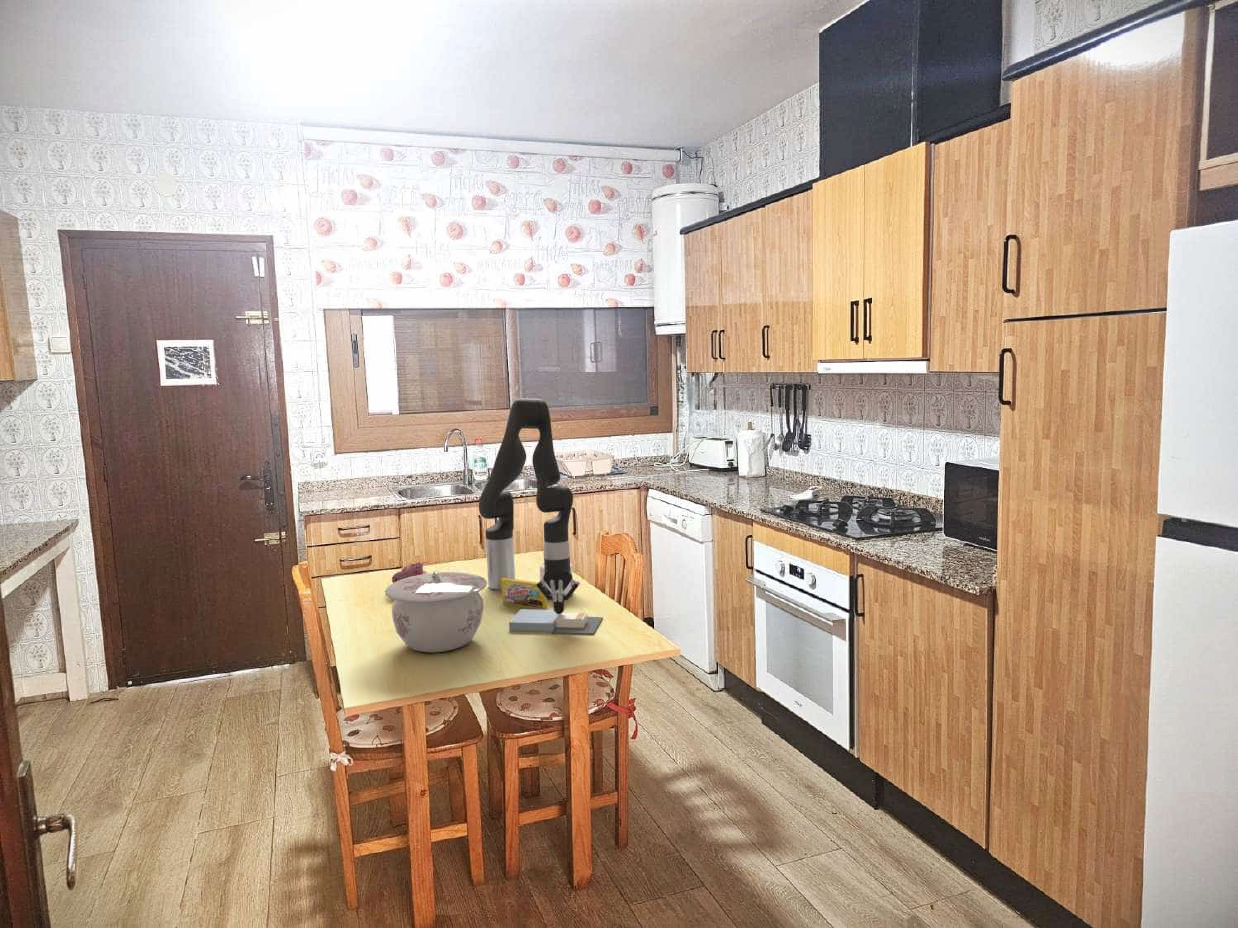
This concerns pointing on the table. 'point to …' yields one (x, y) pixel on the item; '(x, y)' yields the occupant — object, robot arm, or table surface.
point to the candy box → (522, 594)
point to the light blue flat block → (533, 620)
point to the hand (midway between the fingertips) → (559, 613)
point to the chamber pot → (437, 610)
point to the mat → (587, 629)
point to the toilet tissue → (547, 585)
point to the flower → (409, 572)
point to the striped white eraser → (571, 620)
